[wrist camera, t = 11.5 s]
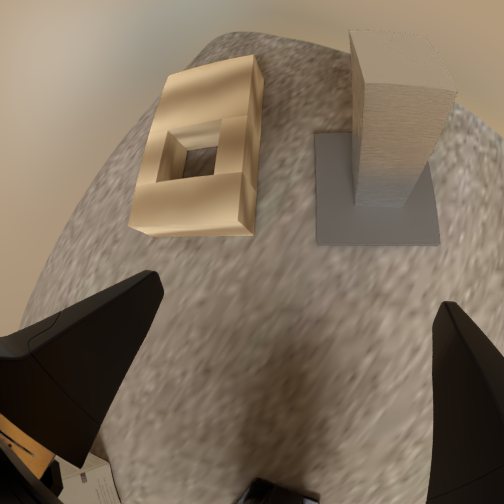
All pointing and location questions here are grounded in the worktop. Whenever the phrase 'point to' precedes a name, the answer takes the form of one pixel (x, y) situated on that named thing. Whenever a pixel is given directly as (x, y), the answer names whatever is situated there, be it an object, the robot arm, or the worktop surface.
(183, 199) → the wooden block with hole
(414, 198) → the rubber mat
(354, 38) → the steel bar
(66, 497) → the skincare box
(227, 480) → the worktop surface
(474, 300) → the worktop surface
